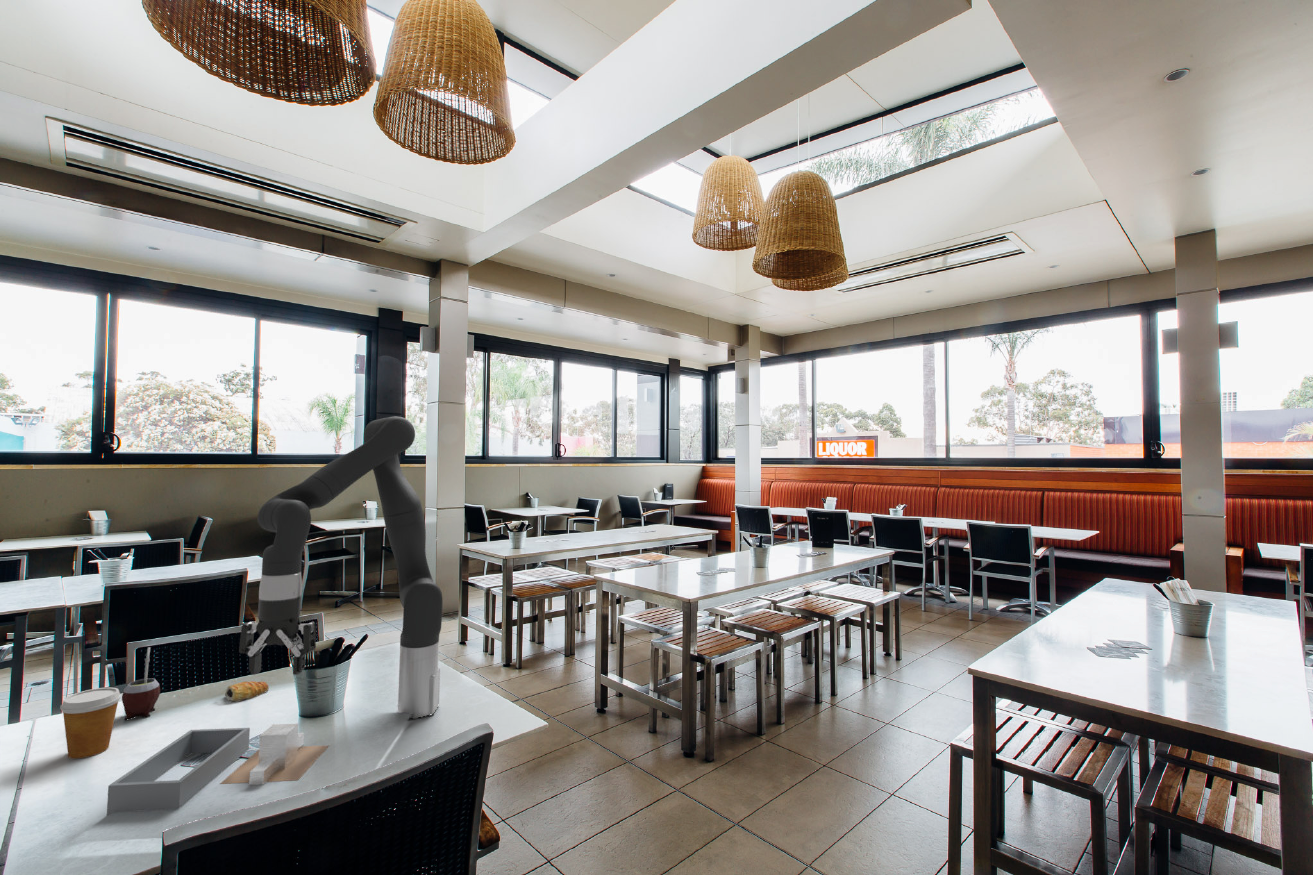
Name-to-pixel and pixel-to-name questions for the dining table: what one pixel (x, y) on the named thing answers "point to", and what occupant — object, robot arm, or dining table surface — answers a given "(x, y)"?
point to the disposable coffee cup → (89, 721)
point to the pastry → (245, 690)
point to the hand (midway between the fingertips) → (276, 673)
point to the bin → (148, 794)
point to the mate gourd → (141, 695)
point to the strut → (276, 751)
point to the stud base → (291, 773)
